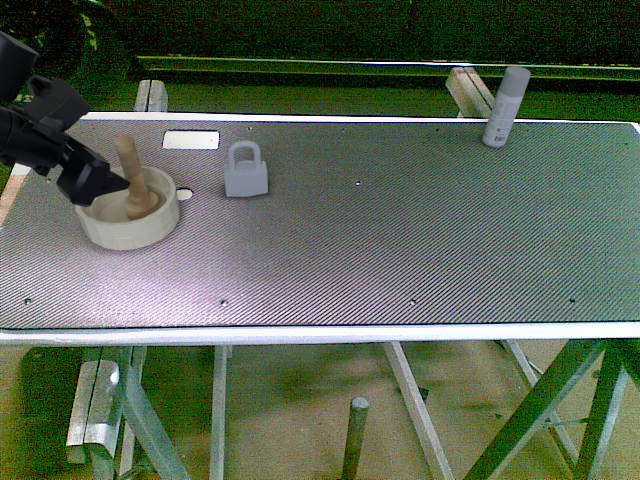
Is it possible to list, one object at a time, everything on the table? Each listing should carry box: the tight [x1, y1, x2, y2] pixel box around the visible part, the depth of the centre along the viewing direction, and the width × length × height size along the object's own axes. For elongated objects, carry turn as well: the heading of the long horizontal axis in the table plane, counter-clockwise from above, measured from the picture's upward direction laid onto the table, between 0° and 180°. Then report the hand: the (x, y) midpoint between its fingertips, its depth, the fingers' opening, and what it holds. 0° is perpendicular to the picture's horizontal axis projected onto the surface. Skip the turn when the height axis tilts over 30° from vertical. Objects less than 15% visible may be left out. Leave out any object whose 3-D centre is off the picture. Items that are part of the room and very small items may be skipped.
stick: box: [114, 135, 160, 221], centre depth 71 cm, size 5×5×13 cm
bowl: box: [74, 164, 181, 251], centre depth 74 cm, size 14×14×6 cm
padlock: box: [222, 139, 269, 198], centre depth 79 cm, size 7×4×10 cm, turn 102°
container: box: [481, 65, 532, 149], centre depth 93 cm, size 5×5×15 cm
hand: (111, 170), depth 68 cm, fingers open, 9 cm apart
